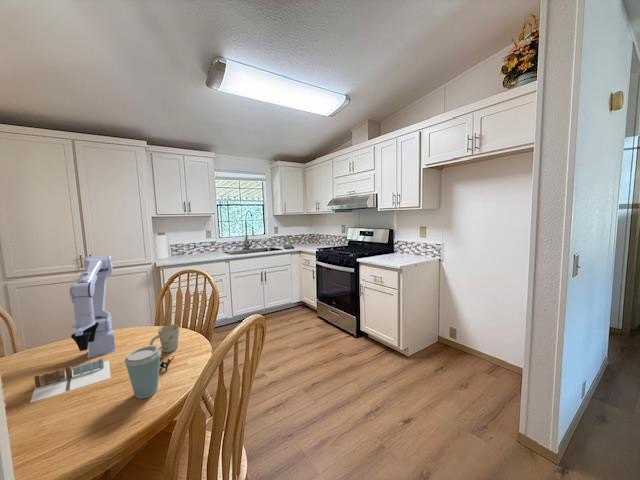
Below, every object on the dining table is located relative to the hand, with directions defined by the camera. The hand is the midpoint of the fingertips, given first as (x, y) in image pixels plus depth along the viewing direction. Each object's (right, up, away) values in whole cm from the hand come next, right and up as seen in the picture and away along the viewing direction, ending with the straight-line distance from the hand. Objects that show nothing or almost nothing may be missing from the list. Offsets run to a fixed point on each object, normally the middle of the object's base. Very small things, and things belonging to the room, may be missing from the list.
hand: (87, 345), depth 108 cm
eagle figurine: (+29, -10, 0) cm, 30 cm away
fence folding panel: (+3, -9, -2) cm, 10 cm away
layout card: (+1, -10, -6) cm, 12 cm away
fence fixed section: (-5, -10, -9) cm, 14 cm away
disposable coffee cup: (+32, -11, -14) cm, 37 cm away
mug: (+23, -8, +14) cm, 28 cm away
